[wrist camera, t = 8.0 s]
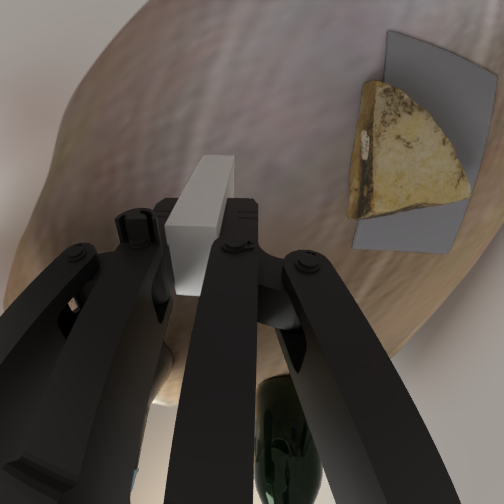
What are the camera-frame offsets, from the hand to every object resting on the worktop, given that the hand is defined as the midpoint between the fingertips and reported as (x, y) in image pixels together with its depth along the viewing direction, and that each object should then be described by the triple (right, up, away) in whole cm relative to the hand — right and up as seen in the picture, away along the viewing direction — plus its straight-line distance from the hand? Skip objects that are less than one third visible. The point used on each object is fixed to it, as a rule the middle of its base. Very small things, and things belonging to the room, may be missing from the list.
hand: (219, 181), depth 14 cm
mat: (+17, +5, +7) cm, 19 cm away
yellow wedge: (+9, +4, +5) cm, 11 cm away
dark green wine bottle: (+7, -26, +30) cm, 41 cm away
